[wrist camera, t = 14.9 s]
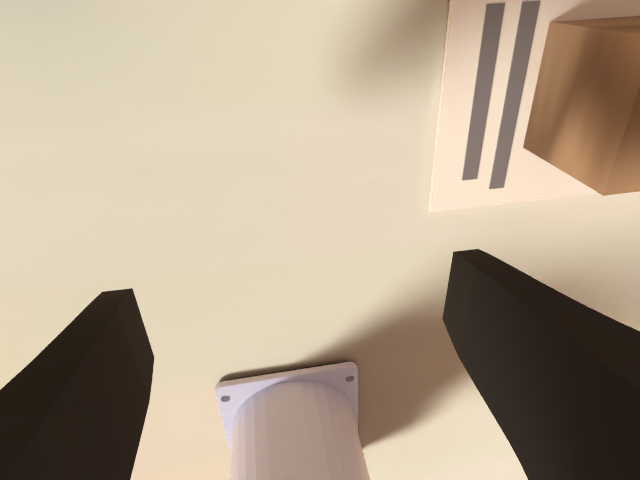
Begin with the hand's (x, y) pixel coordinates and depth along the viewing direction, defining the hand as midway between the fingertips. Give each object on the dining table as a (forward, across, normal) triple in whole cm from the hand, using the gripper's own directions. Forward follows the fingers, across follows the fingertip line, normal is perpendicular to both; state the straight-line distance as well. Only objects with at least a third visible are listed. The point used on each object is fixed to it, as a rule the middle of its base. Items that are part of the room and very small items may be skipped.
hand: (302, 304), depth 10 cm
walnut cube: (+9, -14, -2) cm, 16 cm away
